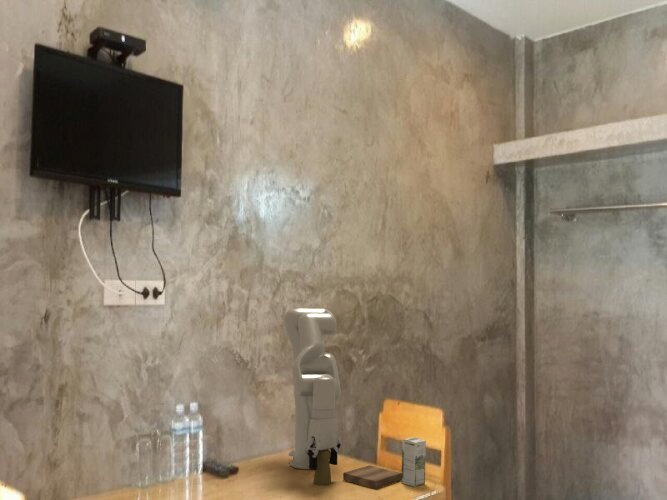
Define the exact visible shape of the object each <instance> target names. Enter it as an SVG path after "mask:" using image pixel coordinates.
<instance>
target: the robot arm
mask: <svg viewBox="0 0 667 500" xmlns="http://www.w3.org/2000/svg"><path fill="white" fill-rule="evenodd" d="M337 324H338V323H337V320H336V317H335V315H334V313H332V312H331V311H330V310H329V309H327V308H322V307H321V308H320V307H319V308H316V307H315V308H311V307H306V308H305V307H298V308H297V307H296V308H291V309H289V310H287V311H286V312H285V315H284V328H285V332H286V336H287V338H288V339H289V343H290V345H291V349H292V357H293V365H292V371H291V372H292V383H293V398H294V406H295V413H294V414H295V418H294V419H295V421H294V422H295V423H294V425H295V428H294V430H295V431H294V449H292V450H291V451H290V452H288V456H289V457H292V460H291V461H290V462H289V463H290V466H291V467H292V468H294V469H298V470H312V471H315V470H317V457H316V455H317V453H318V451H321V450H326V449H328V450H330V452H331V456H330V459H329V464H330V465H333V466H337V465H338V453H339V452H340V448H341V444H342V441H343V438H342V437H341V436H339V435H338V426H337V425H338V424H337V418H336V412H337V411H336V403H338V402H339V401H340V399H341V395H342V392H341V391H342V389H341V383H340V377H339V370H338V365H337V361H336V358H335V356H334V354H332V353H331V352H326V351H325V350H326V347H325V340H324V336H327V337H329V336H331V337H332V336H334V335H335V334H336V333H337V329H338V325H337Z"/></svg>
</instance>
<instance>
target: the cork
mask: <svg viewBox="0 0 667 500" xmlns="http://www.w3.org/2000/svg"><path fill="white" fill-rule="evenodd" d="M330 456H331V450H330V449H326V450H321V451H318V453H317V455H316V457H317V470H314V477H313V484H314V485H317V486H329V485H331V484H332V483H333V482H332V475H331V466H330V465H331V464H329V459H330Z"/></svg>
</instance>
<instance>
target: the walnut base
mask: <svg viewBox="0 0 667 500" xmlns="http://www.w3.org/2000/svg"><path fill="white" fill-rule="evenodd" d="M342 474H343V475H342V476H343V478H342V479H343V481H344V480H345V482H347V481H349V482H348V483H351V482H353V483H352V484H354V483H356V485H358V484H360V485H359V486H362V485H363V486H362V487H366V488H370V489H373V490H379V489H380V488H381V489H382V488H384V487H386V485H387V486H389V484H390V485H393V484H396V483H398V481H399V482H401V480H402V472H399V471H394V470H391V469H387V468H382V467H380V466H374V465H369V464H368V465H365V466H362V467H360V468H355V469H351V470H348V471H345V472H343V473H342ZM395 482H396V483H395ZM392 483H393V484H392ZM383 486H384V487H383Z"/></svg>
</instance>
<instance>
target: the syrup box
mask: <svg viewBox="0 0 667 500" xmlns="http://www.w3.org/2000/svg"><path fill="white" fill-rule="evenodd" d="M426 441H427V440H425V439H422V438H419V437H409V438H405V439H402V441H401V442H402V443H401V448H402V449H401V473H402V480H401V481H400V482H401V484H402V483H403V485H407V486H410V487H419V486H422V485H424V484H426V455H427V454H426V452H427V451H426V447H427V442H426Z"/></svg>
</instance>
